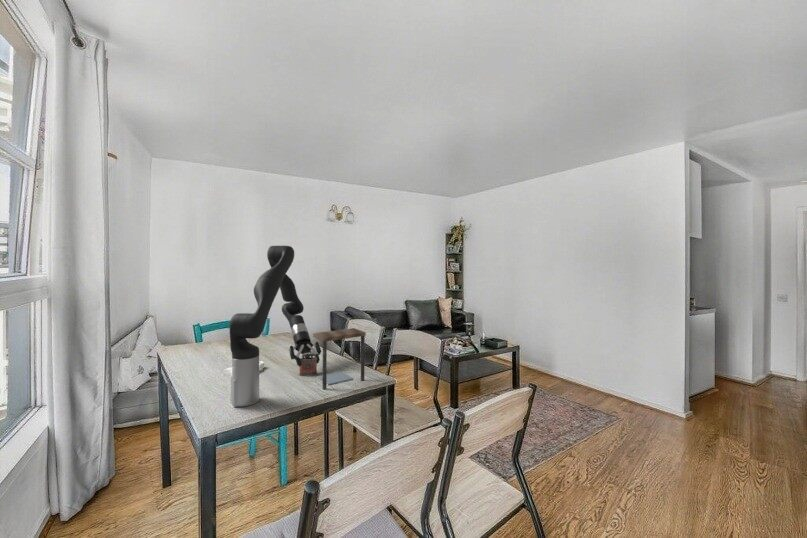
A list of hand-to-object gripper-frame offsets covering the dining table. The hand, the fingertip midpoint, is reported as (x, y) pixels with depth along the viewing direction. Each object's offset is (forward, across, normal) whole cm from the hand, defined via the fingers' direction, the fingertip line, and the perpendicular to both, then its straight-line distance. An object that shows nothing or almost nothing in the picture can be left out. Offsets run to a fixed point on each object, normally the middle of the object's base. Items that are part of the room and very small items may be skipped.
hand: (309, 364), depth 156 cm
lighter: (+3, 0, +5) cm, 6 cm away
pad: (+11, +8, -4) cm, 14 cm away
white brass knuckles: (-11, -23, +19) cm, 32 cm away
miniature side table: (+14, +8, -7) cm, 18 cm away
